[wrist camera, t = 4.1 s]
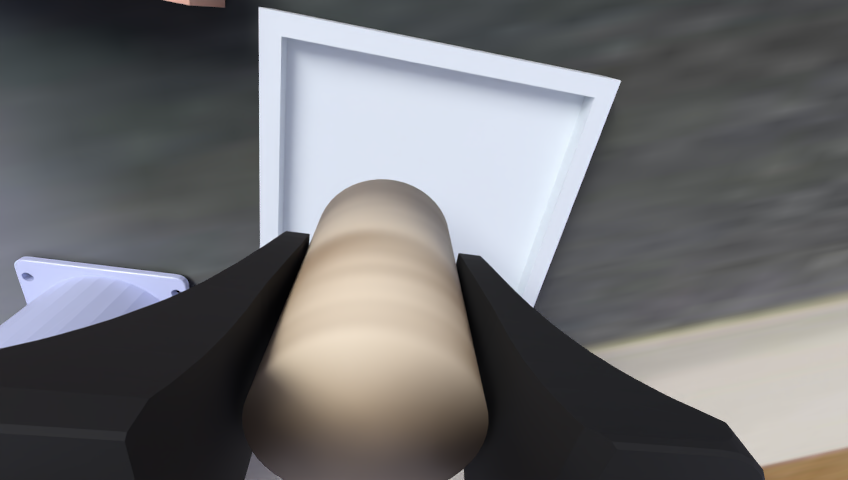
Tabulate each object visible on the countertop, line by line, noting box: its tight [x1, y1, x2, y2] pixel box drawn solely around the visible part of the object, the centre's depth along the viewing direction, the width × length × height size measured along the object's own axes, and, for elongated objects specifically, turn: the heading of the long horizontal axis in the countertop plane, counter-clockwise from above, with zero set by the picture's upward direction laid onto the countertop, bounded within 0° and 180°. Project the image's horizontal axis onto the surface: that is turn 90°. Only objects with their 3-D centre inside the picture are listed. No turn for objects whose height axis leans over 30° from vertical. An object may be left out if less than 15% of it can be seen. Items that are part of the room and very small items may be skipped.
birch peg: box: [242, 179, 488, 480], centre depth 10 cm, size 4×4×6 cm
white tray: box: [259, 7, 621, 307], centre depth 19 cm, size 14×14×2 cm
